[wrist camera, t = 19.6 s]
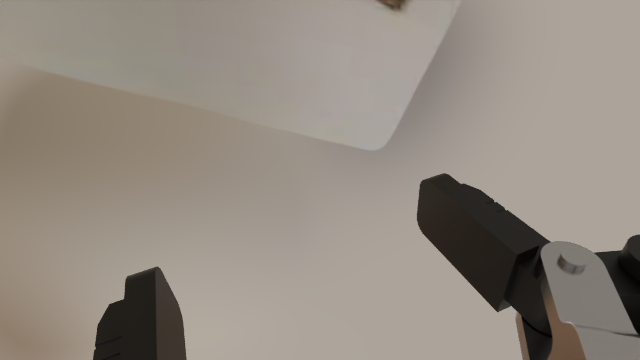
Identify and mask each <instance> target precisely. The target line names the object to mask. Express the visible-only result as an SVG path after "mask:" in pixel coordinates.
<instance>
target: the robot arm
mask: <svg viewBox="0 0 640 360" xmlns="http://www.w3.org/2000/svg"><path fill="white" fill-rule="evenodd" d="M417 221H418V225H419V227H420V230H421V231H422V233H423V234H424V235H425V236H426V237H427V238H428V239H429V241H431V243H432V244H433V245H434V246H435V247H436V248H437V249H438V250H439V251H440V252H441V253H442V254H443V255H444V256H445V257H446V258H447V260H448V261H449V262H450V263H451V264H452V265H453V266H454V267H455V268H456V269H457V270H458V271H459V272H460V273H461V274H462V275H463V276H464V277H465V279H466V280H467V281H468V282H469V283H470V284H471V285H472V286H473V287H474V288H475V289H476V290H477V291H478V292H479V293H480V294H481V295H482V296H483V298H484V299H485V300H486V301H487V302H488V303H489V304H490V305H491V306H492V307H493V308H494V309H495V310H496V311H497V312H499V311H501V310H503V309H506V308H508V307H510V306H512V307H513V308H514V309H515V310H516V311H517V313H516V325H517V330H518V336H519V341H520V347H521V352H522V358H523V360H640V235H635V236H632V237H630V238H629V239H628V241H627V243H626V244H625V246H624V248H623V250H621V251H609V252H597V253H593V252H592V251H590V250H588V249H587V248H584V247H582V246H580V245H577V244H574V243H570V242H563V241H556V242H550V241H549V240H547V239H546V238H544V237H543V236H542V235H540V234H539V233H538V232H536V231H535V230H534V229H532V228H531V227H529V226H528V225H527V224H525V223H524V222H523V221H521V220H520V219H519V218H517V217H516V216H515V215H513V214H512V213H511V212H509V211H508V210H507V211H506V210H505V208H504V207H503V206H501V205H500V204H498V203H497V202H494V200H493V199H492V198H490V197H489V196H487V195H486V194H485V193H484V192H482V191H481V190H479V189H476V188H474V187H471V186H469V185H466V184H460V183H458V182H457V181H456V180H455V179H454V178H452V177H451V176H450V175H448V174H445V173H444V174H440V175H437V176H434V177H431V178H428V179H425V180H423V181H422V182H421V184H420V190H419V200H418V211H417ZM95 347H96V349H95V350H94V357H93V360H186V349H185V338H184V327H183V319H182V314H181V311H180V308H179V305H178V302H177V300H176V298H175V296H174V294H173V292H172V290H171V288H170V286H169V284H168V282H167V281H166V279H165V277H164V275H163V273H162V271H161V269H160V268H159V267H154V268H152V269H148V270H145V271H142V272H139V273H136V274H133V275H130V276H128V277H127V278H126V282H125V295H124V299H123V300H120V301H117V302H114V303H112V304H109V306H108V308H107V309H106V311H105V313H104V315H103V317H102V318H101V320H100V322H99V324H98V328H97V335H96V342H95Z"/></svg>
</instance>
